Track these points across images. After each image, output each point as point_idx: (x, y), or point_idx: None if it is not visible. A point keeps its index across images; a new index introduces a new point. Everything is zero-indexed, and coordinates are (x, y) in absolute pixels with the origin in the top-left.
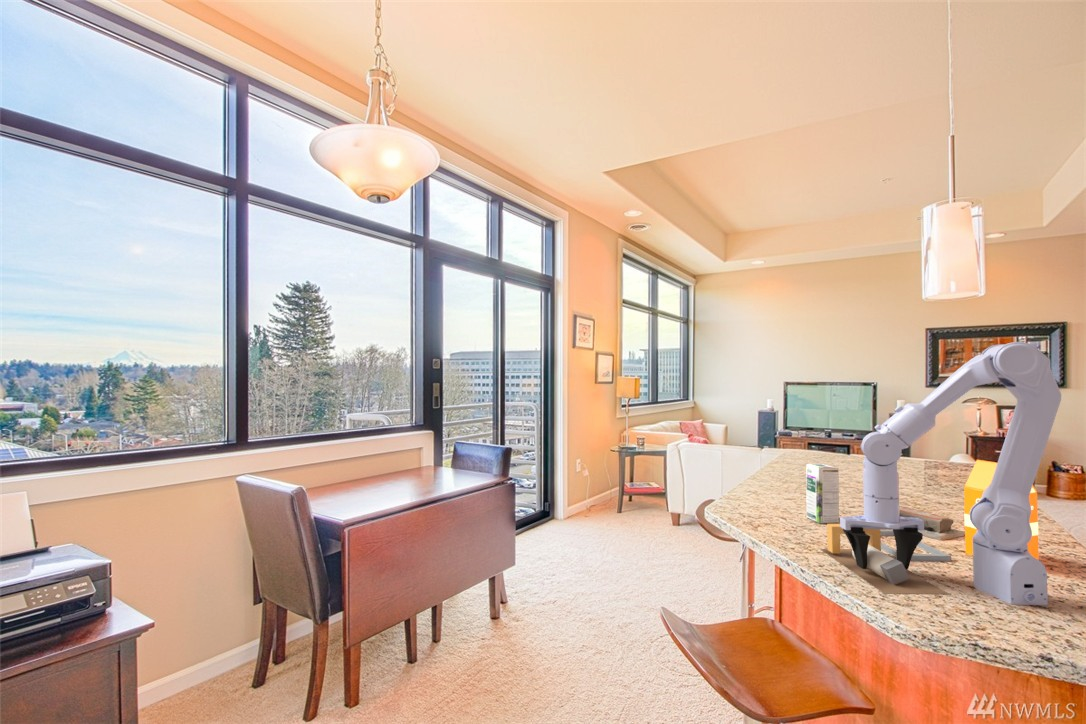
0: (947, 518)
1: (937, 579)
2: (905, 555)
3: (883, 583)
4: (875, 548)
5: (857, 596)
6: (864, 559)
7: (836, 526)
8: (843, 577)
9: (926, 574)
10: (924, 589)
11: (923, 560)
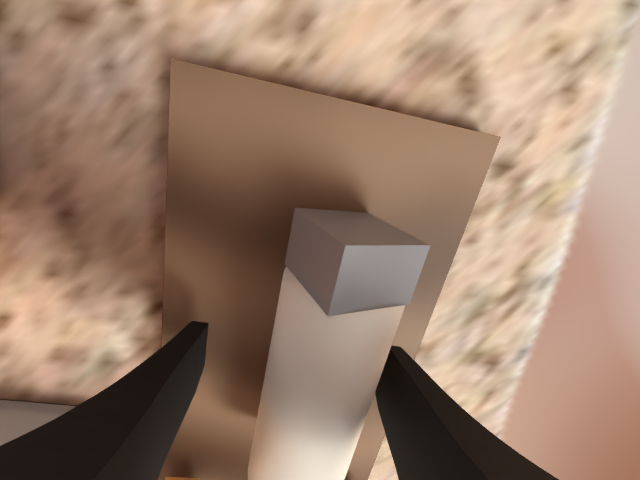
0: None
1: (64, 282)
2: (177, 376)
3: None
4: (293, 461)
5: (558, 183)
6: (424, 374)
7: None
8: (444, 340)
9: (78, 331)
10: (262, 143)
11: (6, 421)
